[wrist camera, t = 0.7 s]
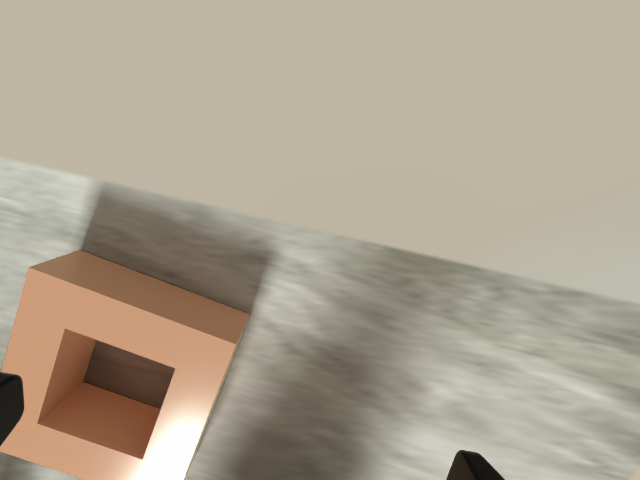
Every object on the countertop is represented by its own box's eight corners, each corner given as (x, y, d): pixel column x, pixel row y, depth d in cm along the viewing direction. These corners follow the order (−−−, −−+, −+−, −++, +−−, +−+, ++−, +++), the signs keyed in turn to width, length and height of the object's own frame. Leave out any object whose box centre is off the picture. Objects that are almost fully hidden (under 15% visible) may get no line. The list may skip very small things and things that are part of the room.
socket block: (195, 455, 25) (171, 508, 21) (36, 400, 24) (-18, 445, 20) (250, 314, 23) (236, 344, 19) (79, 249, 22) (28, 267, 18)
